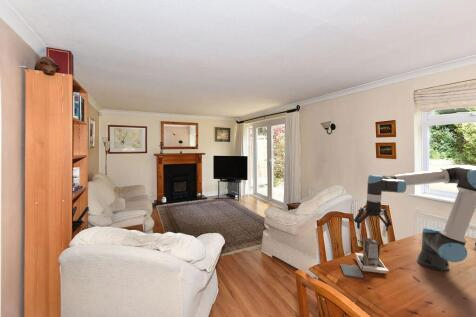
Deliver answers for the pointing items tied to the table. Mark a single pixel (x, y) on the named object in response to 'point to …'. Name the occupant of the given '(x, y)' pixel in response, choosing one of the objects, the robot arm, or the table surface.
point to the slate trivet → (351, 271)
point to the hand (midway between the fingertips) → (371, 235)
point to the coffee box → (371, 252)
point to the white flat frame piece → (370, 268)
